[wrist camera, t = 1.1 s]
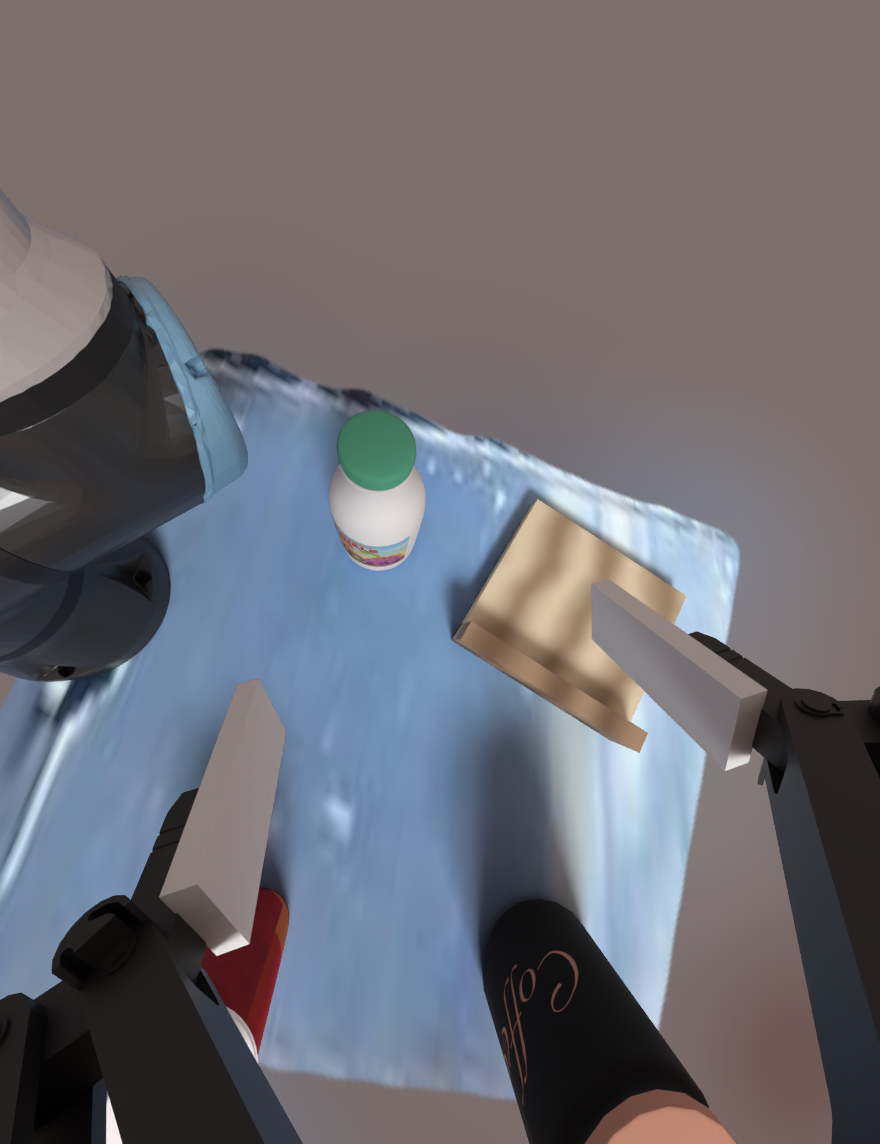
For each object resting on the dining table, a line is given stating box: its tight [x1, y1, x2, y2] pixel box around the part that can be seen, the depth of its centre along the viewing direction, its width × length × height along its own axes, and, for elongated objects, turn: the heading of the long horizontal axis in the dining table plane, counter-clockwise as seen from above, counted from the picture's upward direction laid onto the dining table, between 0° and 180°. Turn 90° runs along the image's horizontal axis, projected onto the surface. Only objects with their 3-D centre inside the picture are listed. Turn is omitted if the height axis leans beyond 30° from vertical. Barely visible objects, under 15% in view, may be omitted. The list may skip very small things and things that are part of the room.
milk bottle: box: [329, 410, 425, 571], centre depth 32 cm, size 8×8×20 cm
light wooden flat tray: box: [452, 499, 686, 753], centre depth 41 cm, size 20×18×5 cm
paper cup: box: [106, 888, 289, 1144], centre depth 27 cm, size 8×8×14 cm
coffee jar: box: [482, 899, 738, 1144], centre depth 28 cm, size 11×11×18 cm
